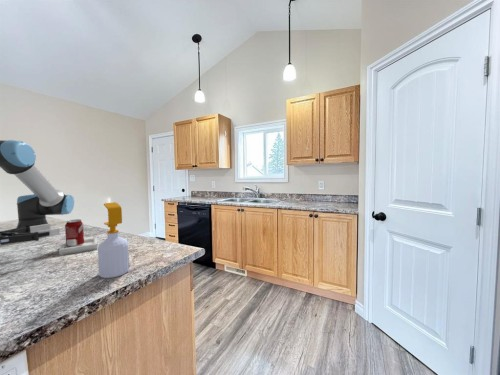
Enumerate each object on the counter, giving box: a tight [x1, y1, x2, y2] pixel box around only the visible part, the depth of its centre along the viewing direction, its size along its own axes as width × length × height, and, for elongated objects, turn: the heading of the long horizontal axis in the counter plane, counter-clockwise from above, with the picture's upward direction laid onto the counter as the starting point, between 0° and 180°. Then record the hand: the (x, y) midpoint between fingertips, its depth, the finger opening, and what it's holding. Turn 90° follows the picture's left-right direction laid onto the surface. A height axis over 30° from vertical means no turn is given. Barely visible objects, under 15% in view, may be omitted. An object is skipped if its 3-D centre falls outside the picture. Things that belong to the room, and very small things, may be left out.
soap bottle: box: [97, 201, 130, 279], centre depth 78 cm, size 9×9×25 cm
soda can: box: [64, 218, 85, 247], centre depth 106 cm, size 7×7×12 cm
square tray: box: [58, 236, 99, 256], centre depth 106 cm, size 13×13×2 cm
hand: (54, 228), depth 98 cm, fingers open, 13 cm apart
